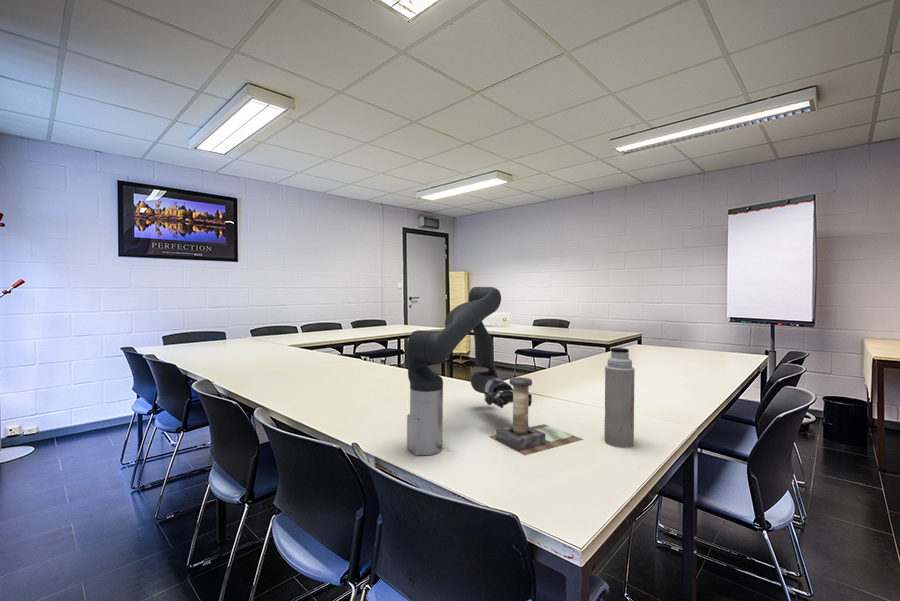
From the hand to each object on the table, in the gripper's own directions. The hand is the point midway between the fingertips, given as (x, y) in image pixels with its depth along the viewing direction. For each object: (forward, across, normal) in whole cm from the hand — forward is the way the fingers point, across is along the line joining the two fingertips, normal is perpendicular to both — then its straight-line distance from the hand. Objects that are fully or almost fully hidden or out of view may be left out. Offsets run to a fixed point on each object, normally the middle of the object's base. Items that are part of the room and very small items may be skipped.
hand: (516, 403), depth 115 cm
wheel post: (+4, 0, +10) cm, 11 cm away
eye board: (+2, +6, +11) cm, 12 cm away
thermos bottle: (+7, +30, +11) cm, 33 cm away
